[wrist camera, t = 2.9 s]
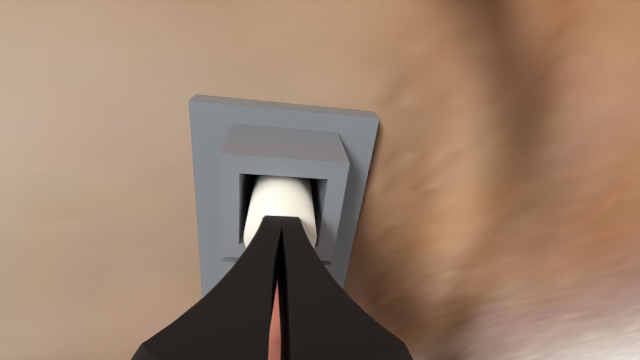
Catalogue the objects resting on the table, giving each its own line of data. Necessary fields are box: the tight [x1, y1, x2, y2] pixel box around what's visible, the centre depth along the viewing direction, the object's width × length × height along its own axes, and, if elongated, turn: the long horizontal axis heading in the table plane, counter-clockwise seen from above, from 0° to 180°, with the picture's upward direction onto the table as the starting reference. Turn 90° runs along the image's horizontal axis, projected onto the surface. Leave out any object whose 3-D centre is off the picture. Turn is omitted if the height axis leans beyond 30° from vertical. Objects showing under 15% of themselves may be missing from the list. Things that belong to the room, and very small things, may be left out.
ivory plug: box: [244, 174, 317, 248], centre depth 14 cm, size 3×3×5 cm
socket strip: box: [189, 95, 379, 297], centre depth 19 cm, size 9×18×5 cm, turn 173°
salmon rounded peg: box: [268, 280, 281, 360], centre depth 16 cm, size 3×3×5 cm
